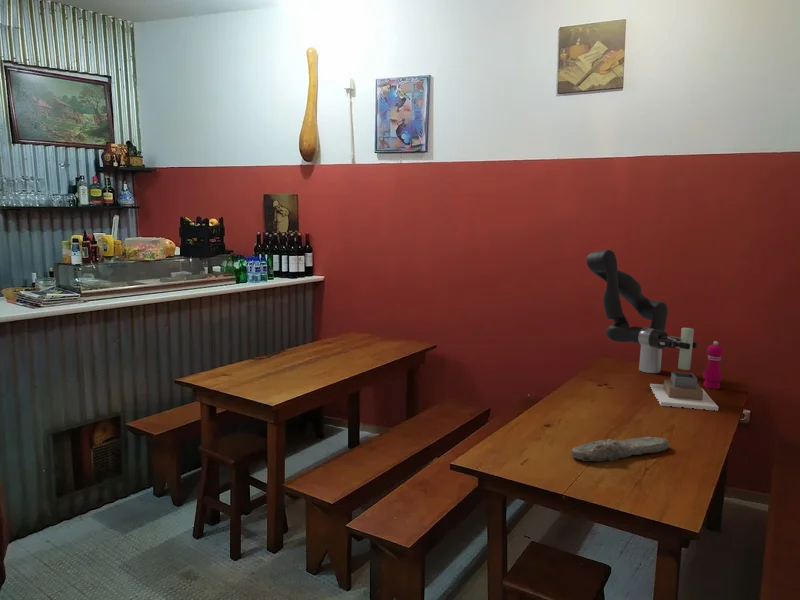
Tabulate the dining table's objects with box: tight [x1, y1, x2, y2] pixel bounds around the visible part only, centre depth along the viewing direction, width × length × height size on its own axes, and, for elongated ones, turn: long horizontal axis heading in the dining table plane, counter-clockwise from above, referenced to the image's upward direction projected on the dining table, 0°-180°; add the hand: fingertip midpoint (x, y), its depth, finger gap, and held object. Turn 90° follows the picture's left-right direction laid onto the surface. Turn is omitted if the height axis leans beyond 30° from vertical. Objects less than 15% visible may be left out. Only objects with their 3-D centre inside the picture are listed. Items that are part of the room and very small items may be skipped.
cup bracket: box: [649, 371, 719, 412], centre depth 239 cm, size 26×20×10 cm
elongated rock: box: [571, 436, 671, 463], centre depth 182 cm, size 35×5×10 cm
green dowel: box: [677, 327, 695, 371], centre depth 237 cm, size 4×4×16 cm
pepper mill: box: [702, 340, 724, 390], centre depth 255 cm, size 7×7×20 cm
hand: (692, 346), depth 234 cm, fingers closed on green dowel, 4 cm apart
